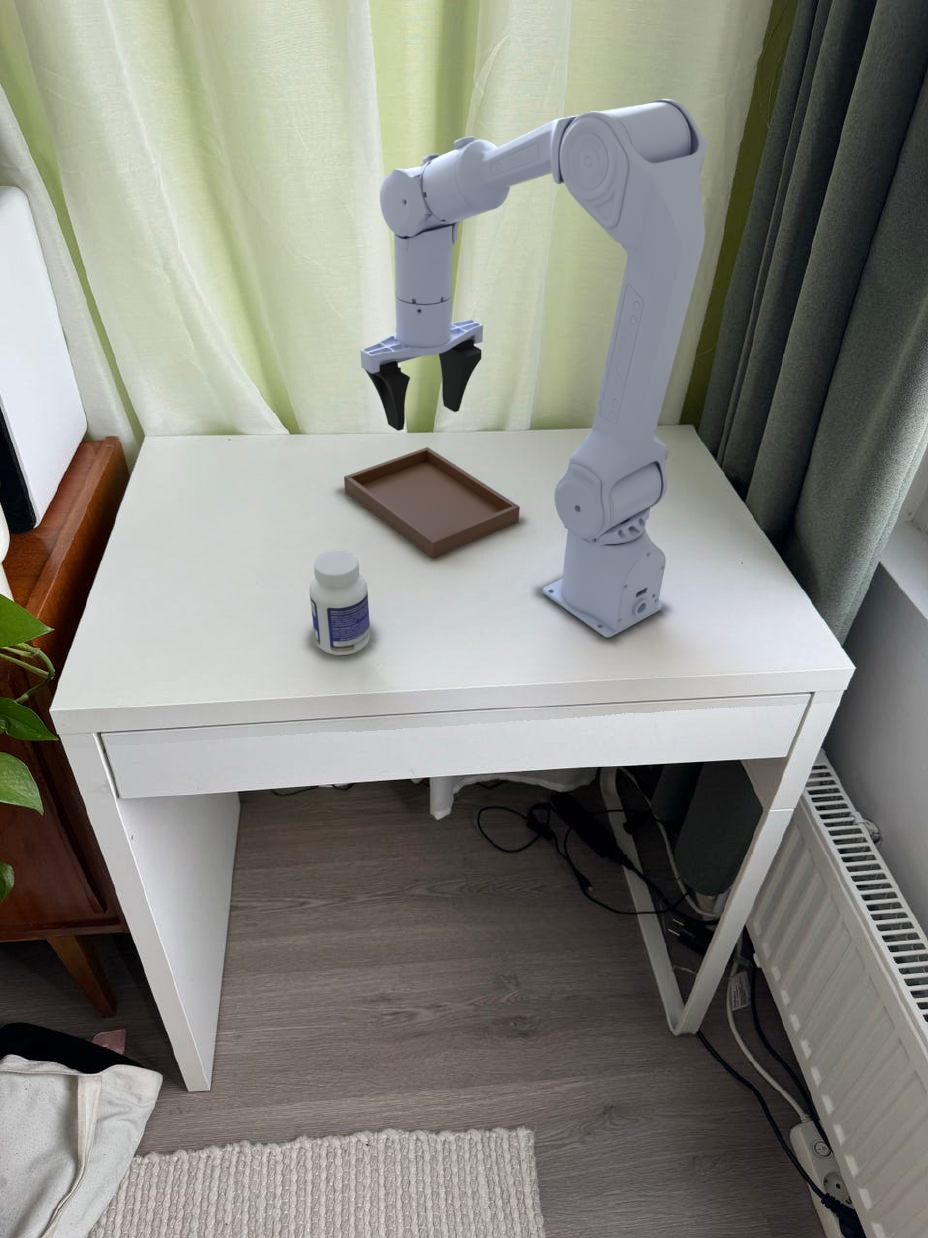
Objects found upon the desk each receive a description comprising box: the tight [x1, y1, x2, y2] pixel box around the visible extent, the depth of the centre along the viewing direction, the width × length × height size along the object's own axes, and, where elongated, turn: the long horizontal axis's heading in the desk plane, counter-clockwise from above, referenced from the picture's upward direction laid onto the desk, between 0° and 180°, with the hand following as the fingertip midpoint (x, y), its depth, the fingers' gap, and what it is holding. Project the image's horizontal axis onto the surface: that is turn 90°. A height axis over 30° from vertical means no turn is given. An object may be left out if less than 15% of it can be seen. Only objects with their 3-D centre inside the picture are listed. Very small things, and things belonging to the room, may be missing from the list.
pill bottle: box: [309, 549, 371, 656], centre depth 85 cm, size 5×5×9 cm
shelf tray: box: [343, 446, 521, 559], centre depth 106 cm, size 17×12×2 cm
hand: (424, 417), depth 103 cm, fingers open, 7 cm apart
